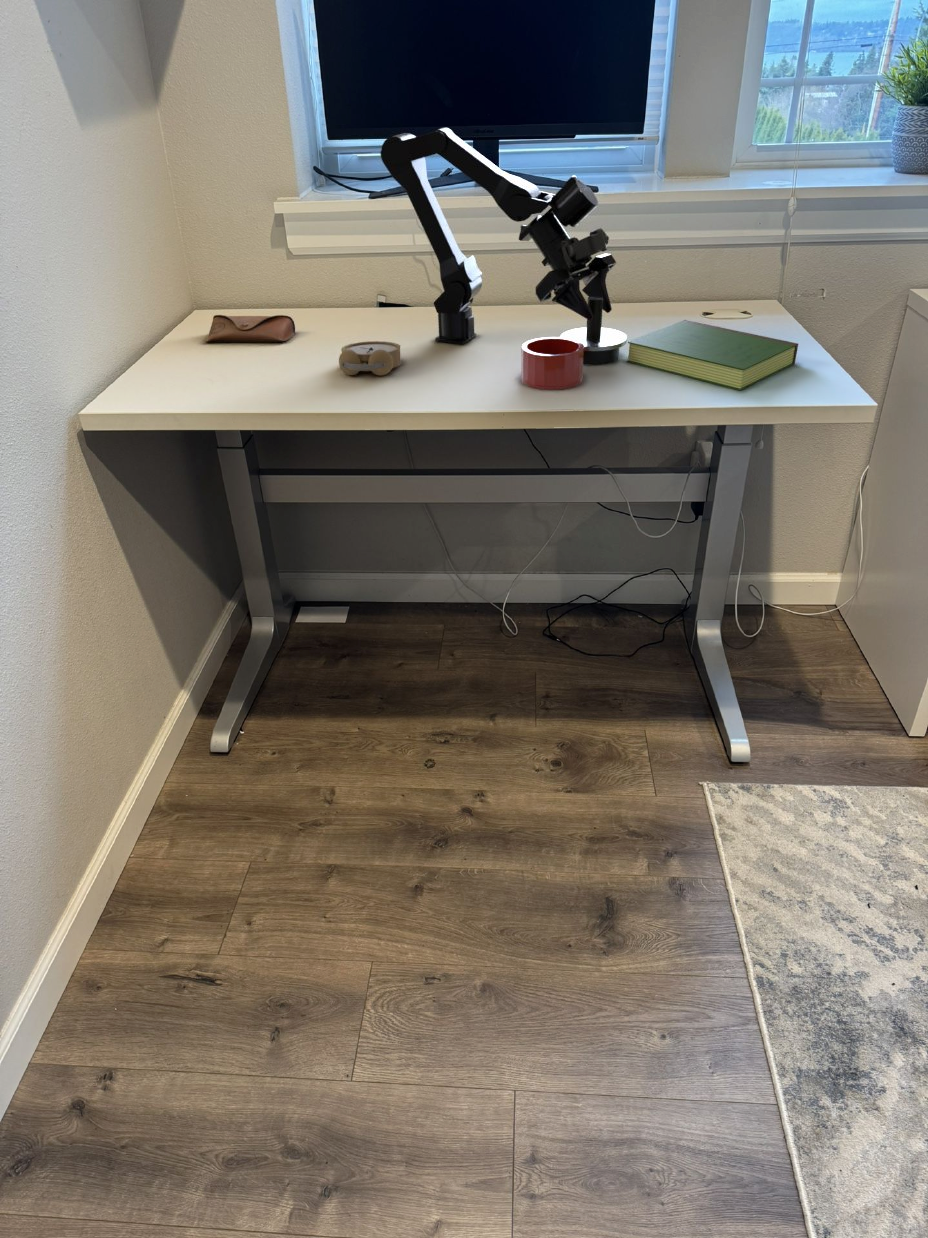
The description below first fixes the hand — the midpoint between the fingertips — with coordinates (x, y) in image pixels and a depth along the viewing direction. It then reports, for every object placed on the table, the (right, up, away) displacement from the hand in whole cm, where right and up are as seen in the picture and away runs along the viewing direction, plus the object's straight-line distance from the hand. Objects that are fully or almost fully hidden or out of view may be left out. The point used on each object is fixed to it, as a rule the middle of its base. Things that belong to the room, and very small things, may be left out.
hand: (600, 314), depth 163 cm
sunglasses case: (-71, +3, +23) cm, 74 cm away
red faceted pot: (-10, -13, -5) cm, 17 cm away
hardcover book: (+20, -9, +1) cm, 22 cm away
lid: (-1, -4, +4) cm, 5 cm away
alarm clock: (-43, -9, +3) cm, 44 cm away
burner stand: (-1, -6, +5) cm, 8 cm away
